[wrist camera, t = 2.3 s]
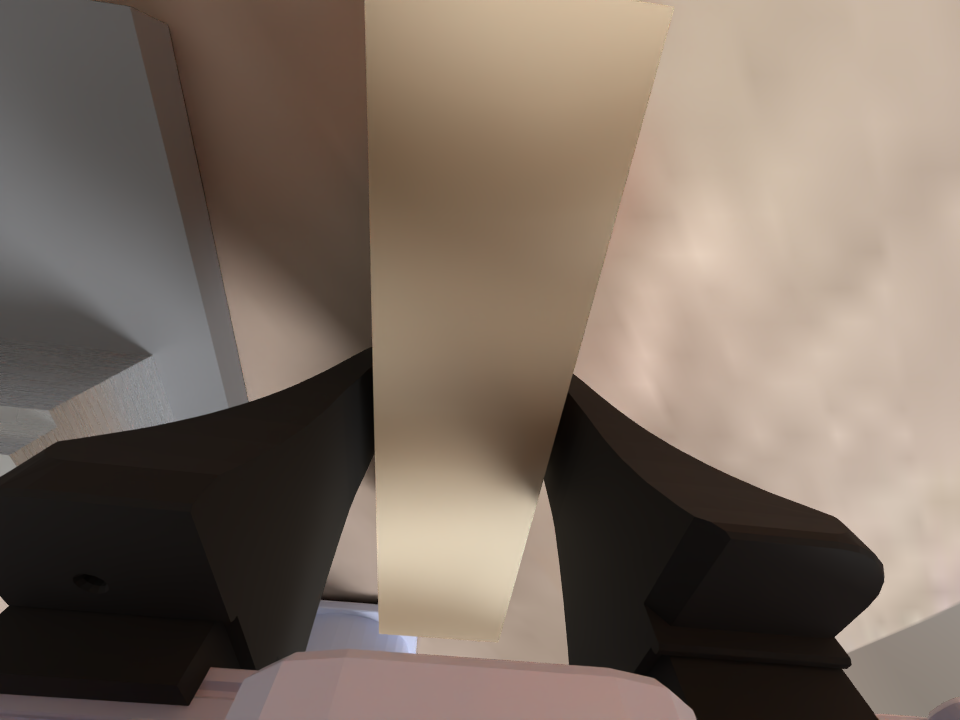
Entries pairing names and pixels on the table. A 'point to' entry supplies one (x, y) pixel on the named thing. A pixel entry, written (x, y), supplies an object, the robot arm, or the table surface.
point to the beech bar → (485, 272)
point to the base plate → (108, 199)
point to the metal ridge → (72, 396)
